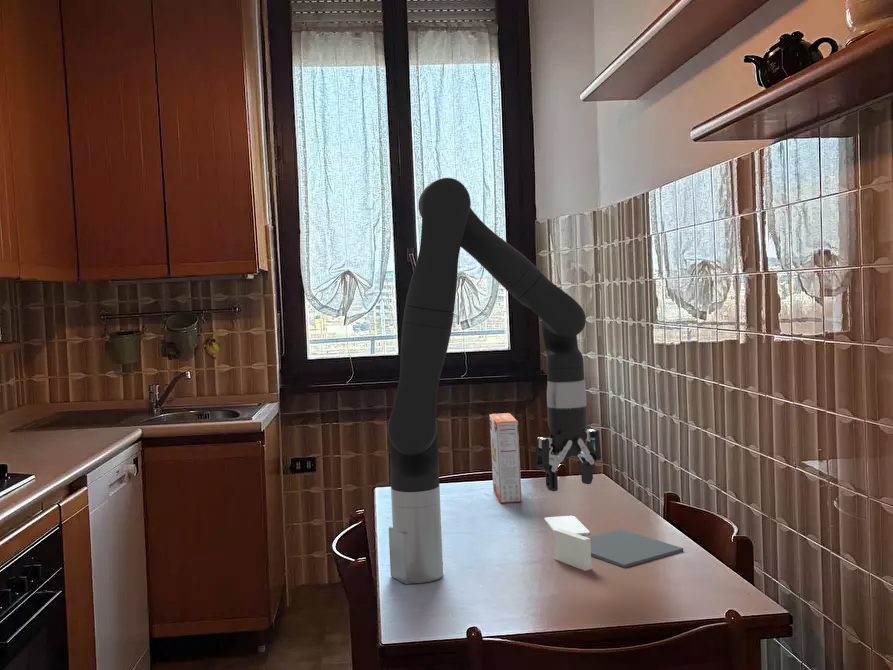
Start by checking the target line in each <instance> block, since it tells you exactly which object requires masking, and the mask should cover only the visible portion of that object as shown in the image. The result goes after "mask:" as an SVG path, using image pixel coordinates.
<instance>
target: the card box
mask: <svg viewBox="0 0 893 670" xmlns="http://www.w3.org/2000/svg"><path fill="white" fill-rule="evenodd" d="M588 537H589V536H586V535H579V534H576V533H573V532H570V531H566V530H563V529H560V528H559V529H555V530H554V531H553V545H554V550H553V551H554V560H556V561H558V562H560V563H564V564H566V565H569V566H572V567H574V568H577V569H580V570H582V571H584V572H586V571H590V570H592V556H591V543H590V538H588Z"/></svg>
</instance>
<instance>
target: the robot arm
mask: <svg viewBox="0 0 893 670" xmlns="http://www.w3.org/2000/svg"><path fill="white" fill-rule="evenodd" d="M471 205H472V202H471V196H470V193H469V192H468V189H467V187H466V186H465V185H464V184H463V183H462V182H461V181H460V180H458V179H456V178H452V177H441V178H438V179H436V180H434V181H432V182H430V183H429V184H428V185H426V187H425V188H424V189H423V191H422V192H421V193H420V197H419V199H418V212H419V215H420V217H421V232H420V235H421V236H420V243H419V251H418V256H417V260H416V263H415V265H414V269H413V272H412V275H411V279H410V281H409V286H408V290H407V295H406V300H405V305H404V310H403V317H402V323H401V324H402V325H401V338H400V339H401V340H400V356H399V357H400V360H399V361H400V364H399V365H400V367H399V379H398V385H397V390H396V394H395V398H394V403H393V406H392V410H391V414H390V417H389V420H388V421H387V422H388V423H387V429H386V431H387V437H388V439H389V453H390V455H389V456H390V461H389V463H390V470H389V471H390V494H391V495H390V496H391V497H390V498H391V517H392V526H389V527H388V540H389V541H388V543H389V544H388V546H389V567H390V577H392V578H394V579H395V580H396V581H399V582H401V583H402V584H405V585H409V584H424V583H430V582H434V581H436V580H439V579H441V578H442V577H443V575H444V559H443V539H442V538H443V537H442V536H443V535H442V514H441V492H440V491H441V489H440V486H441V485H440V467H439V465H440V463H439V462H440V460H439V441H438V424H437V422H438V421H437V407H438V392H439V391H438V390H439V383H440V378H441V374H442V371H443V367H444V363H445V360H446V356H447V352H448V348H449V345H450V344H449V343H450V339H451V334H452V329H453V324H454V323H453V321H454V315H455V308H456V298H457V297H456V296H457V288H458V287H457V286H458V271H459V269H458V267H459V257H460V251H461V248H462V249H463V250H464V251H465V252H466V253H468V254H469V255H470V256H471V257H472V258H473V259H475V261H476V262H477V263H479V264H480V266H482V267H483V268H484V269H485V270H486V271H487V273H488V274H489V275H491V277H492V278H493V279H495V280H496V281H497V282H498V283H499V285H501V286H502V288H504V289H505V290H506V291H507V292H508V293H509V294H510V295H511V296H512V297H513V298H514V299H516V301H518V302H519V303H520V304H521V305H523V307H526V308H528V309H530V310H532V312H534V313H535V314H536V315H537V316H538V317H539V318H540V319H541V331H542V338H543V344H544V349H545V354H546V376H547V386H546V404H547V405H546V407H547V409H546V411H547V426H548V429H549V433H550V434H549V436H548V437H540V436H538V437H537V438H536V440H535V442H536V443H535V449H536V450H535V451H536V452H535V453H536V454H535V466H536V468H537V469H539V470H543V471H544V472H545V486H546V488H547V490H548V491H551V492H556V491H558V489H559V487H558V486H559V485H558V472H557V470H558V468H559V465H560V463H563V461H564V459H565V458H570V457H572V456H574V457H578V458H579V460H580V462H581V465H580V473H581V474H580V475H581V482H582V483H581V484H585V485H590V484H592V483H593V480H594V475H593V474H594V471H593V465H594V463H595V462H596V461H601V459H602V455H601V454H602V453H601V442H600V432H599V430H596V429H591V428H588V429H586V428H587V426H588V411H587V410H588V409H587V405H588V404H587V390H586V389H587V388H586V385H585V369H584V368H585V367H584V366H585V365H584V357H583V353H582V352H581V350H580V349H579V346H578V336H579V334H581V332H583V330H584V328H585V326H586V322H587V317H586V314H585V311H584V308H582V305H580V304H579V303H578V302H577V301H576V300H575V299H574V298H573V297H572V296H570V295H569V294H568V293H567V292H565V291H564V290H563V289H561V287H559V286H557V285H556V284H555V283H553V282H552V281H550V280H549V278H548V277H547V276H546V275H545V274H544V273H543V272H542V271H541V270H540V269H539V268H538V267H537V266H536V265H535V264H534V263H532V261H531V260H529V259H528V258H527V257H526V256H525V255H524V254H523V253H521V252H520V251H519V250H517V249H516V248H515V247H513V246H512V245H511V244H510V243H508V242H507V241H505V240H504V239H503V238H502V237H500V236H499V235H498V234H496V233H495V232H494V231H493V230H491V229H490V227H488V226H487V225H486V224H485V223H484V222H483V220H481V219H480V218H479V216H478V215H477V214H476V212H474V210H473V209H472V208H471ZM585 443H586V444H585Z"/></svg>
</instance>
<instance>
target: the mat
mask: <svg viewBox="0 0 893 670" xmlns="http://www.w3.org/2000/svg"><path fill="white" fill-rule="evenodd" d="M587 537H588V538H590V543H591V557H594V558H597V559H599V560H602V561H604V562H608V563H610V564H613V565H616V566H619V567H622V568H624V569H625V568H628V567H631V566H635V565H639V564H642V563H646V562H651V561H653V560H658V559H661V558H664V557H668V556H670V555H675V554H678V553H682V552H684V547H681V546H677V545H674V544H671V543H667V542H665V541H662V540H658V539H655V538H651V537H648V536H644V535H641V534H638V533H635V532H631V531H628V530H624V529H622V528H619V529H614V530H610V531H606V532H602V533H598V534H594V535H590V536H587Z"/></svg>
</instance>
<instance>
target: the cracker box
mask: <svg viewBox="0 0 893 670" xmlns="http://www.w3.org/2000/svg"><path fill="white" fill-rule="evenodd" d="M489 428H490V432H489V433H490V447H491V448H490V451H491V452H490V453H491V465H492V467H491V469H492V487H493V488H492V489H493V492H494V494H495V496H496V497H497V499H498V502H499V503H500V504H511V503H521V502H522V500H523V498H522V480H521V459H520V458H521V457H520V442H519V441H520V436H519V421H518V420H517V419H516V418H515V417H514V416H513V415H512V414H511V413H510V412H506V413H505V412H504V413H490V414H489Z"/></svg>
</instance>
